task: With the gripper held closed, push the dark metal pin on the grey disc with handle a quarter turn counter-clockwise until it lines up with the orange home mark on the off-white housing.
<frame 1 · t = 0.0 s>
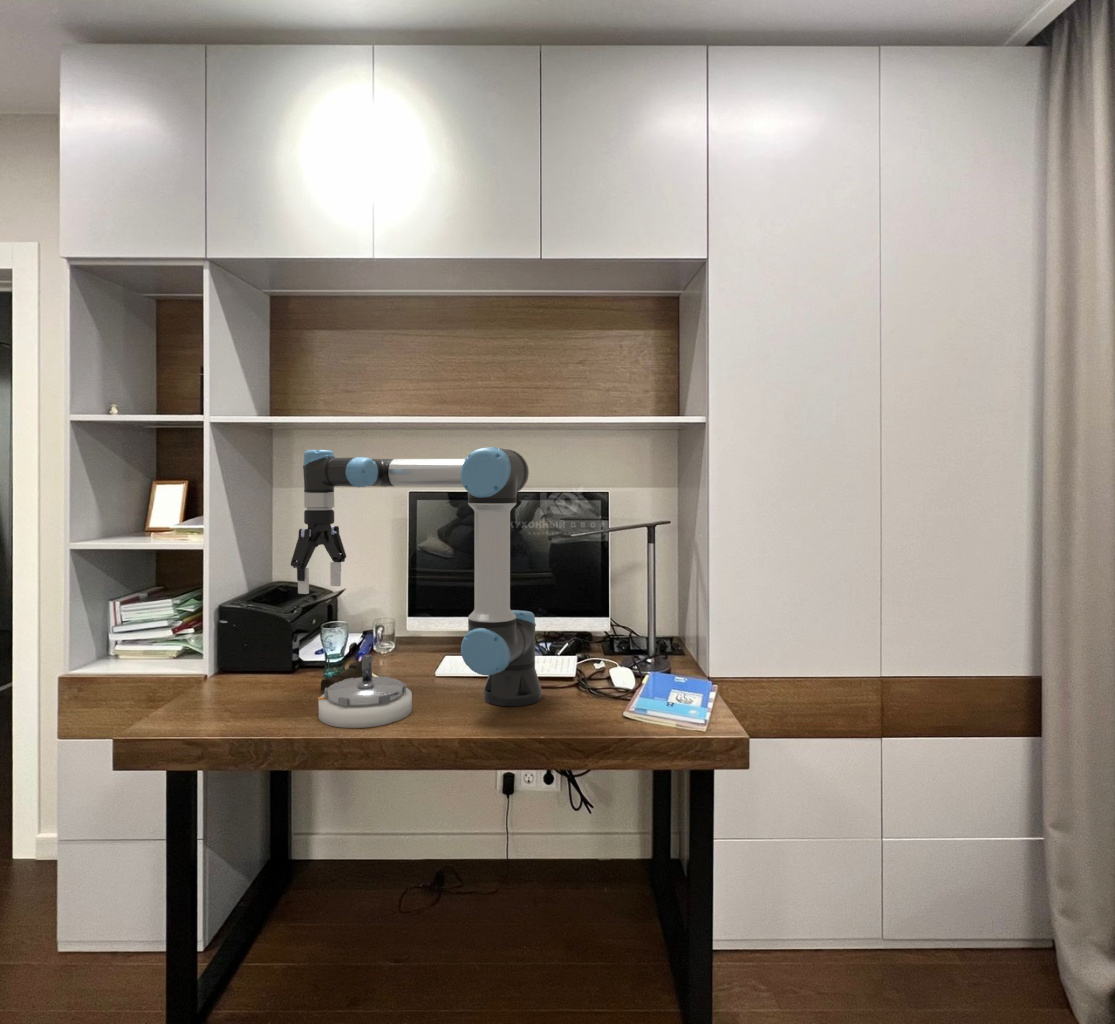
hand: (320, 589, 186), 28 cm above the table, tool pointing down, fingers open, 13 cm apart
housing: (366, 712, 173), on the table
hand tool: (343, 684, 198), on the table
grey disc with handle: (365, 678, 173), point 8 cm above the table, hinge at 0.0°
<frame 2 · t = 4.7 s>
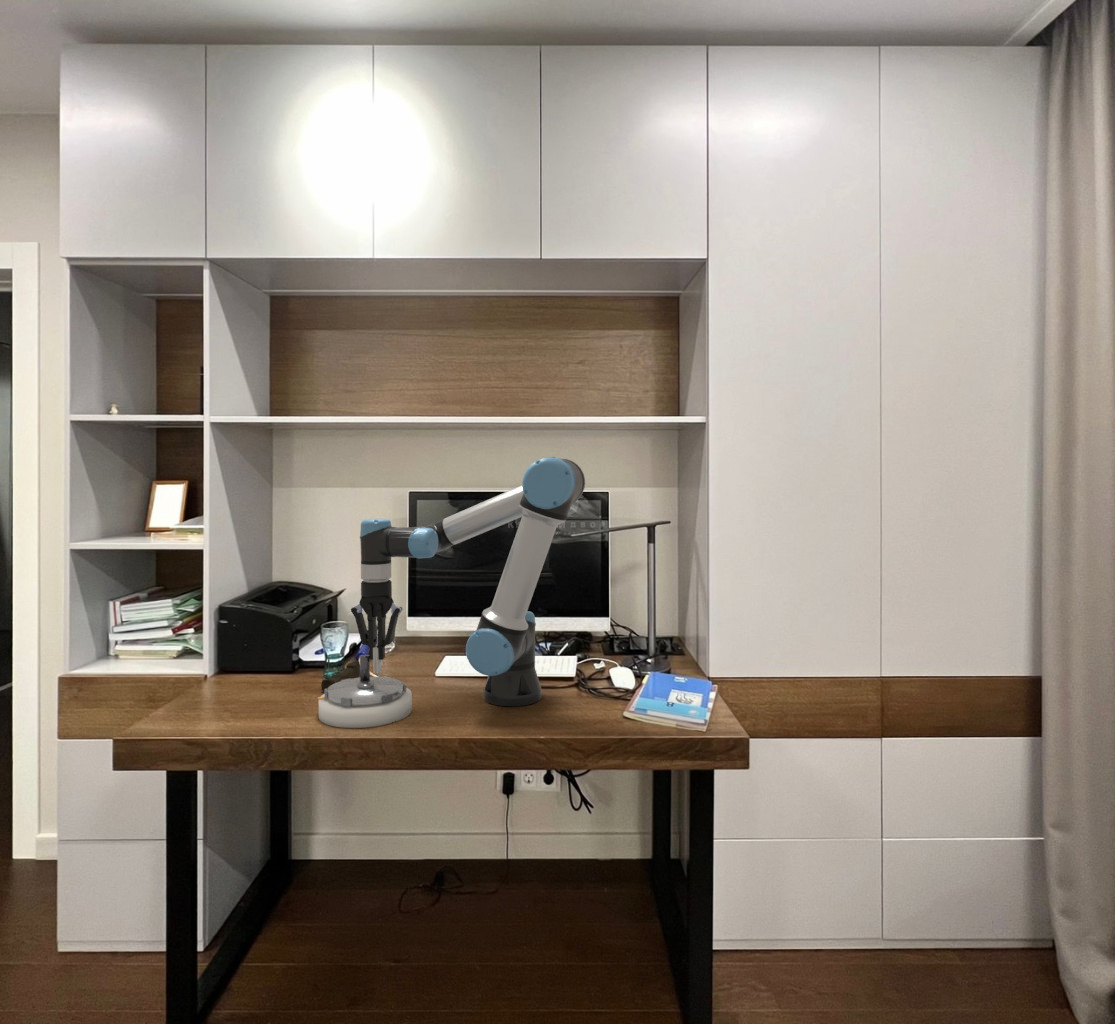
hand: (377, 672, 179), 8 cm above the table, tool pointing down, fingers closed
grey disc with handle: (365, 678, 173), point 8 cm above the table, hinge at 4.5°, touching gripper
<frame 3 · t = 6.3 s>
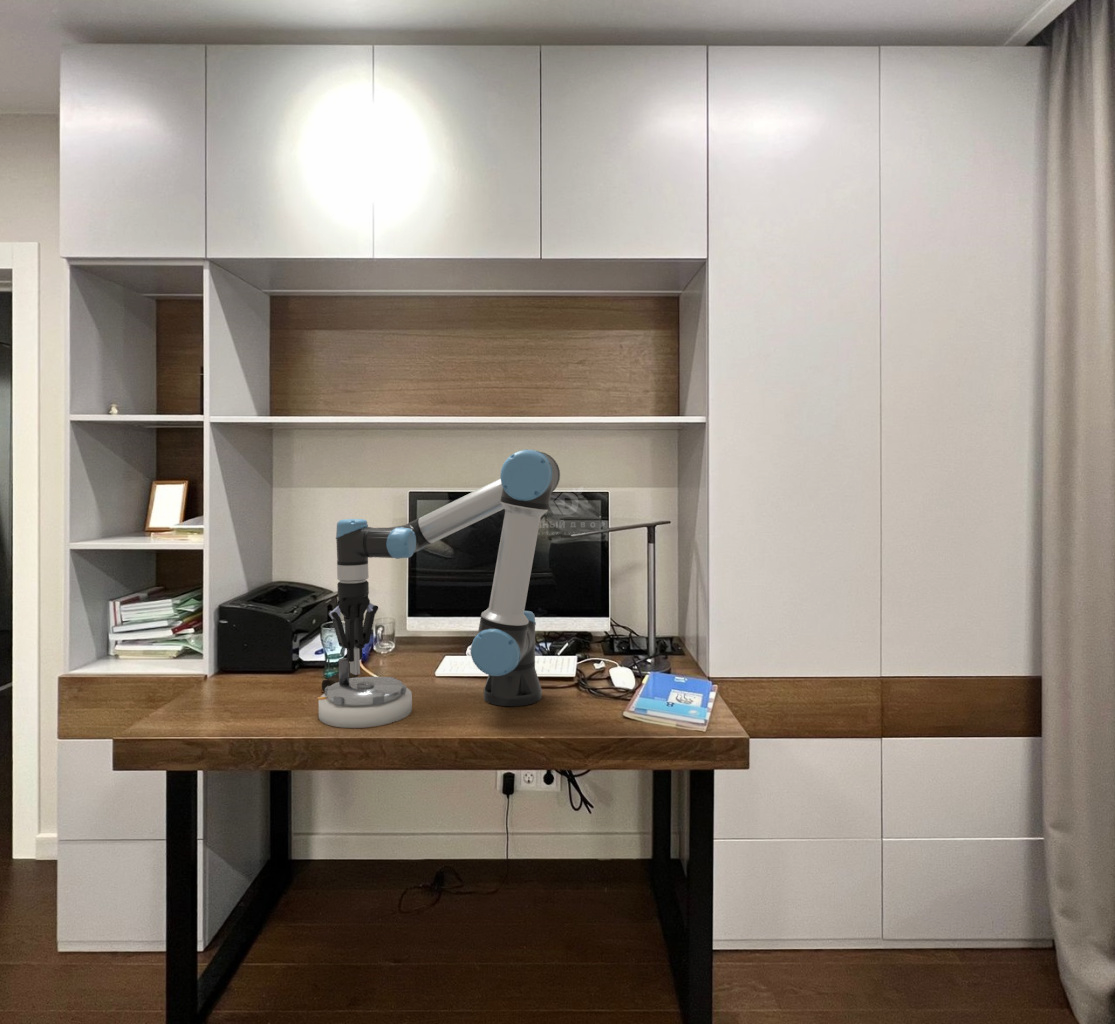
hand: (354, 673, 178), 8 cm above the table, tool pointing down, fingers closed
grey disc with handle: (365, 678, 173), point 8 cm above the table, hinge at 51.0°, touching gripper
everything else where it was.
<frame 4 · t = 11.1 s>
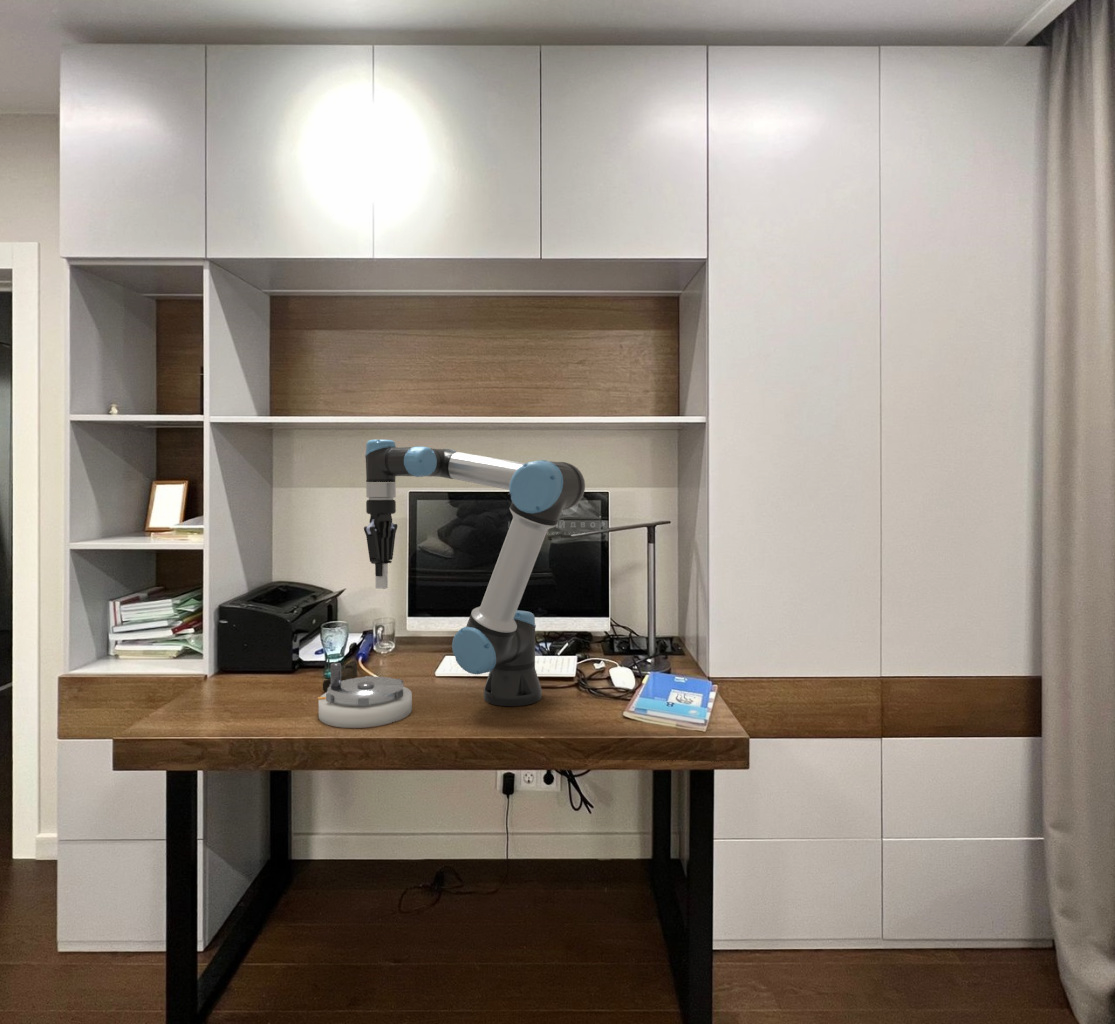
hand: (381, 588, 186), 28 cm above the table, tool pointing down, fingers closed
grey disc with handle: (365, 678, 173), point 8 cm above the table, hinge at 89.4°
everything else where it was.
at the end: grey disc with handle at +89° (first picture: +0°) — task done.
